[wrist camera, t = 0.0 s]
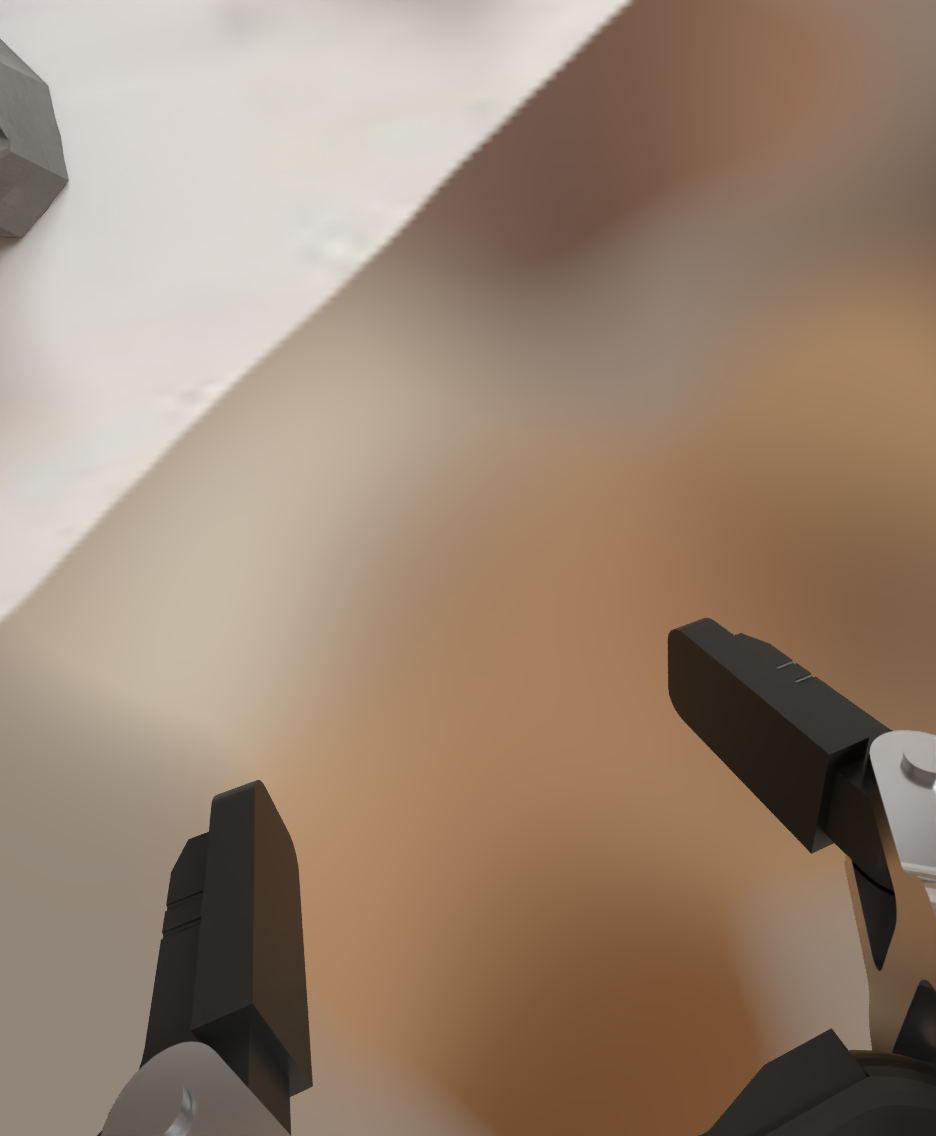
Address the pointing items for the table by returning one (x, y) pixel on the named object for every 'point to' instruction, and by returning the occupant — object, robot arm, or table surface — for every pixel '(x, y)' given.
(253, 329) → the table surface
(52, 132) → the coffeepot
